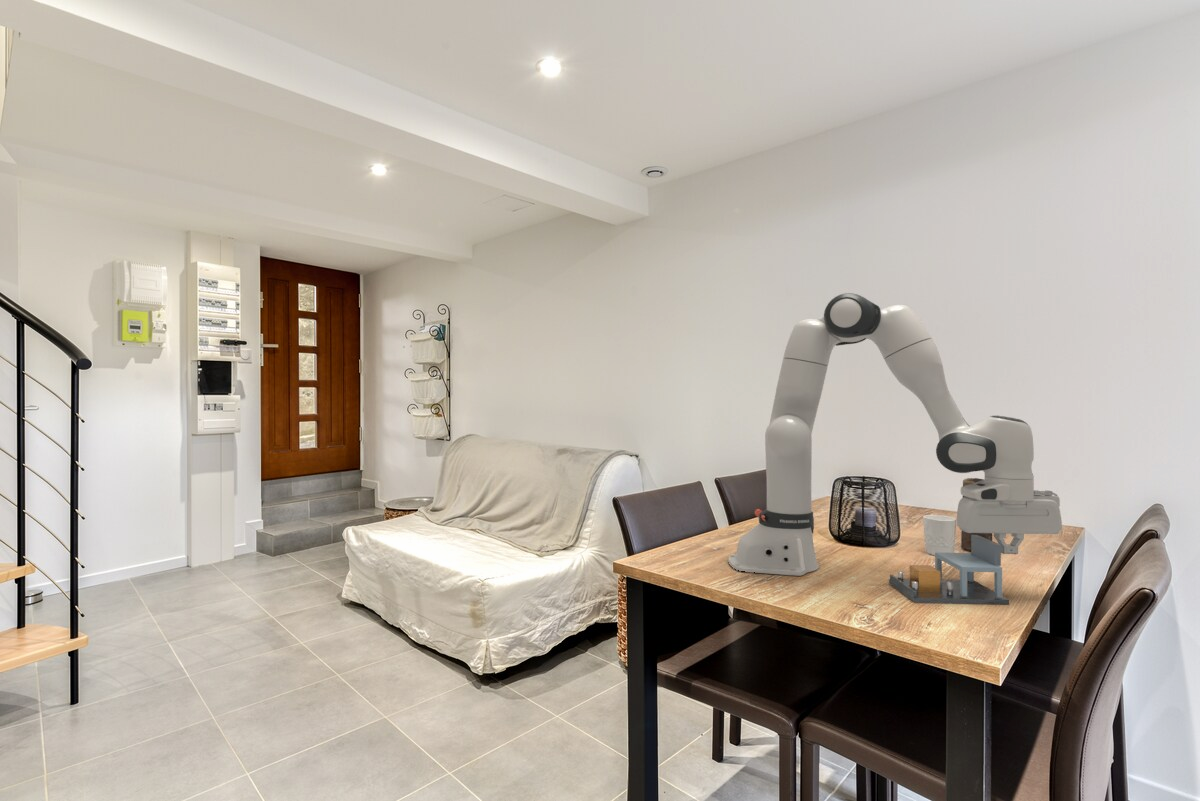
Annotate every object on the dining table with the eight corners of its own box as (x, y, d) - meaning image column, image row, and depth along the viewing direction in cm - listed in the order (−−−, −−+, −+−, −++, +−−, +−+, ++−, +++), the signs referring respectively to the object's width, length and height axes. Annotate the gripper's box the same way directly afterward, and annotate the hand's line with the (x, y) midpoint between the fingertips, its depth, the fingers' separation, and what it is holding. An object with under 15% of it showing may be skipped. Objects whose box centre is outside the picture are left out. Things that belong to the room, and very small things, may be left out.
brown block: (940, 591, 127) (940, 571, 127) (918, 591, 127) (918, 570, 127) (930, 585, 131) (930, 565, 131) (909, 584, 132) (909, 565, 131)
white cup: (961, 558, 157) (961, 521, 157) (929, 556, 158) (928, 520, 158) (949, 550, 164) (949, 515, 164) (919, 549, 166) (919, 514, 166)
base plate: (914, 602, 123) (914, 586, 123) (888, 583, 136) (888, 568, 136) (1009, 604, 121) (1009, 587, 121) (974, 584, 134) (974, 569, 134)
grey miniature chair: (962, 596, 123) (962, 545, 123) (935, 579, 134) (934, 532, 134) (1004, 597, 122) (1004, 546, 122) (973, 580, 134) (973, 533, 134)
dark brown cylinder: (992, 549, 165) (992, 478, 165) (993, 555, 159) (993, 482, 159) (961, 546, 170) (960, 477, 170) (960, 551, 163) (960, 480, 163)
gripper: (1049, 488, 130) (1049, 550, 130) (953, 487, 132) (953, 548, 132) (1069, 492, 124) (1069, 558, 124) (968, 492, 125) (968, 556, 125)
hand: (1008, 553), depth 128 cm, fingers closed
